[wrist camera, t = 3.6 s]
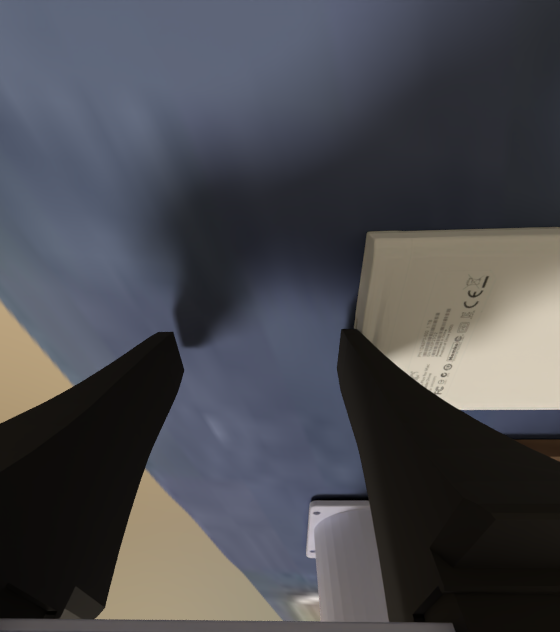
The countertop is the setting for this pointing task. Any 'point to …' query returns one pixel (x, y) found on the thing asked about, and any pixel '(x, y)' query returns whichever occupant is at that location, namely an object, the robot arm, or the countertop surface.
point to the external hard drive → (468, 312)
